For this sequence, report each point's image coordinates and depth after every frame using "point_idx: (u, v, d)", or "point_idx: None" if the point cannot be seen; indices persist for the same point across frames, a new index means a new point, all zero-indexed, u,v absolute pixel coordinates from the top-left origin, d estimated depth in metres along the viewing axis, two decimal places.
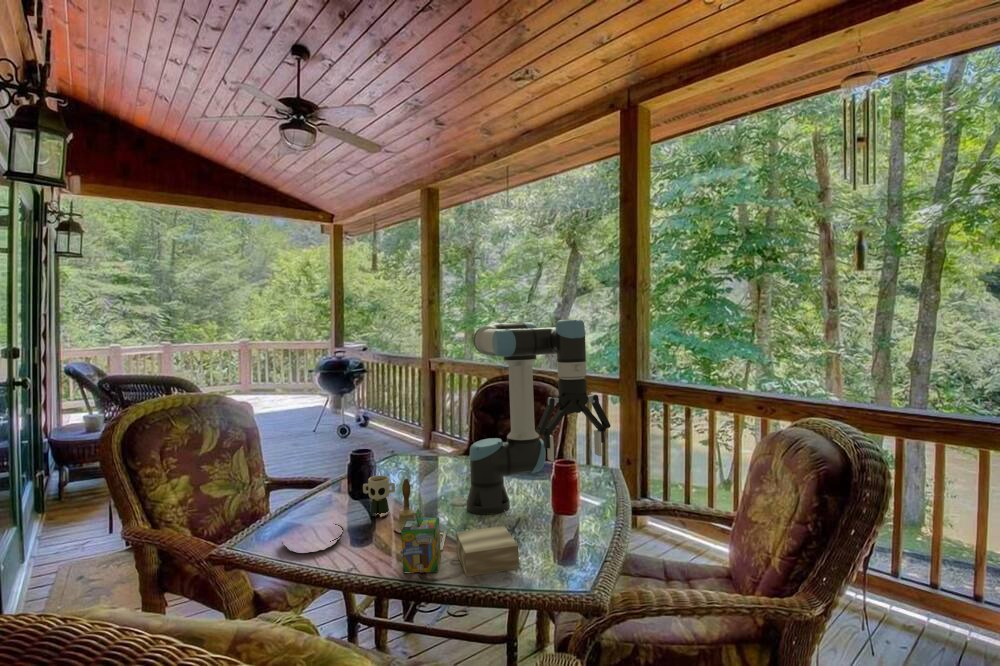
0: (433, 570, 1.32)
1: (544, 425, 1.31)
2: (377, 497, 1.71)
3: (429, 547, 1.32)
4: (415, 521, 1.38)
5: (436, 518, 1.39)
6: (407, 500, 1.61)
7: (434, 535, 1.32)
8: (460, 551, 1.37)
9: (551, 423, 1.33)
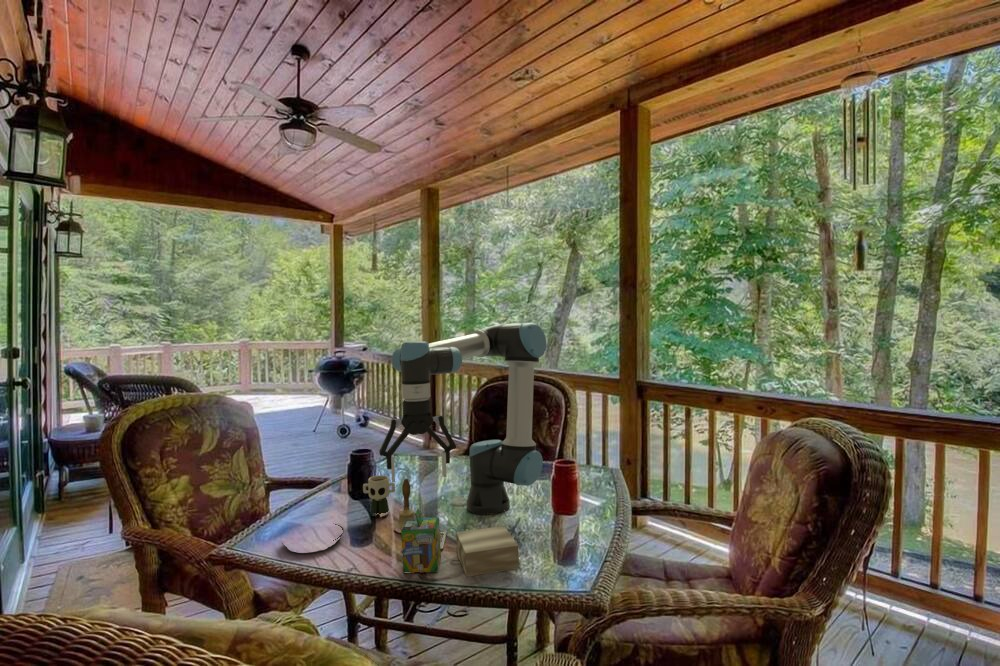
0: (433, 570, 1.32)
1: (385, 446, 1.33)
2: (377, 497, 1.71)
3: (429, 547, 1.32)
4: (415, 521, 1.38)
5: (436, 518, 1.39)
6: (407, 500, 1.61)
7: (434, 535, 1.32)
8: (460, 551, 1.37)
9: (393, 444, 1.34)
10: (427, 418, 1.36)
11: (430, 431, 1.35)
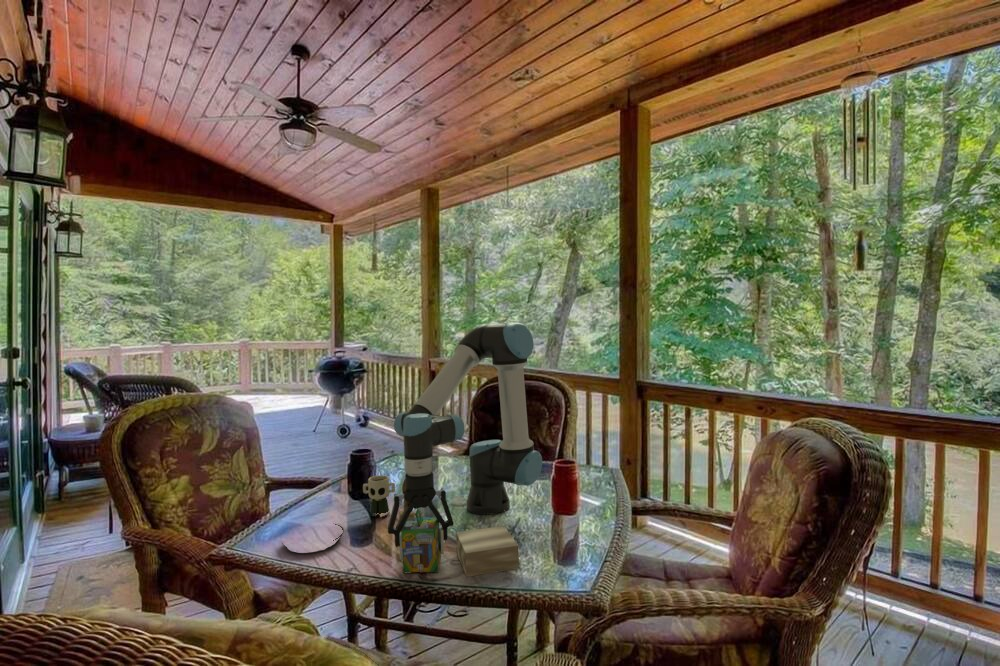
0: (433, 570, 1.32)
1: (392, 524, 1.33)
2: (377, 497, 1.71)
3: (429, 546, 1.32)
4: (415, 521, 1.38)
5: (436, 518, 1.39)
6: None
7: (434, 535, 1.32)
8: (460, 551, 1.37)
9: (400, 521, 1.35)
10: (430, 491, 1.36)
11: (431, 506, 1.35)
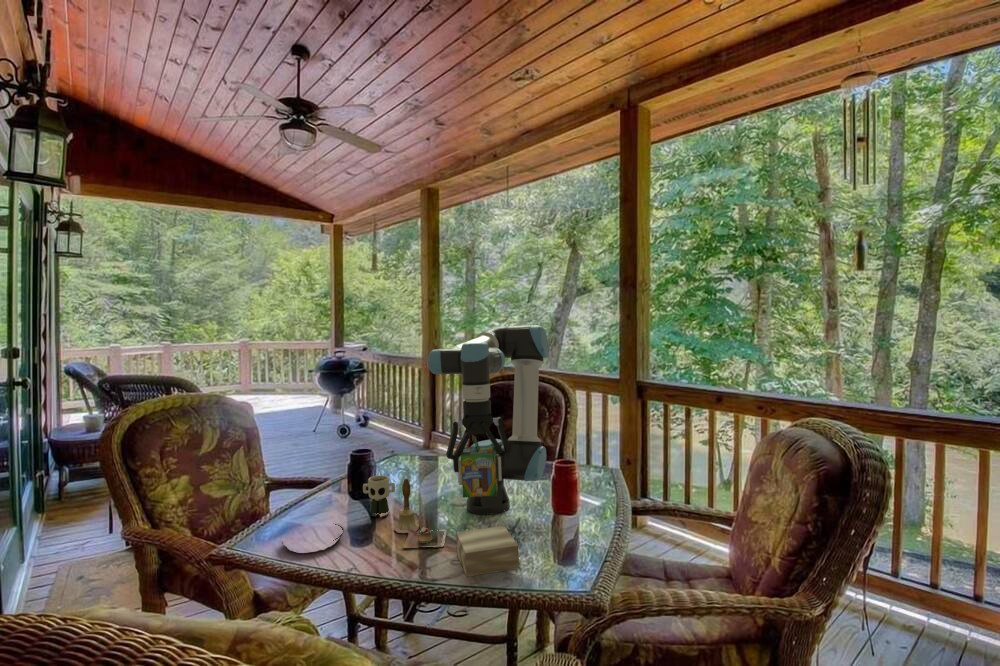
0: (492, 494, 1.33)
1: (451, 449, 1.35)
2: (377, 497, 1.71)
3: (489, 471, 1.33)
4: (472, 448, 1.39)
5: (493, 446, 1.41)
6: (407, 500, 1.61)
7: (493, 459, 1.33)
8: (460, 551, 1.37)
9: (458, 447, 1.36)
10: (488, 418, 1.37)
11: (489, 432, 1.37)
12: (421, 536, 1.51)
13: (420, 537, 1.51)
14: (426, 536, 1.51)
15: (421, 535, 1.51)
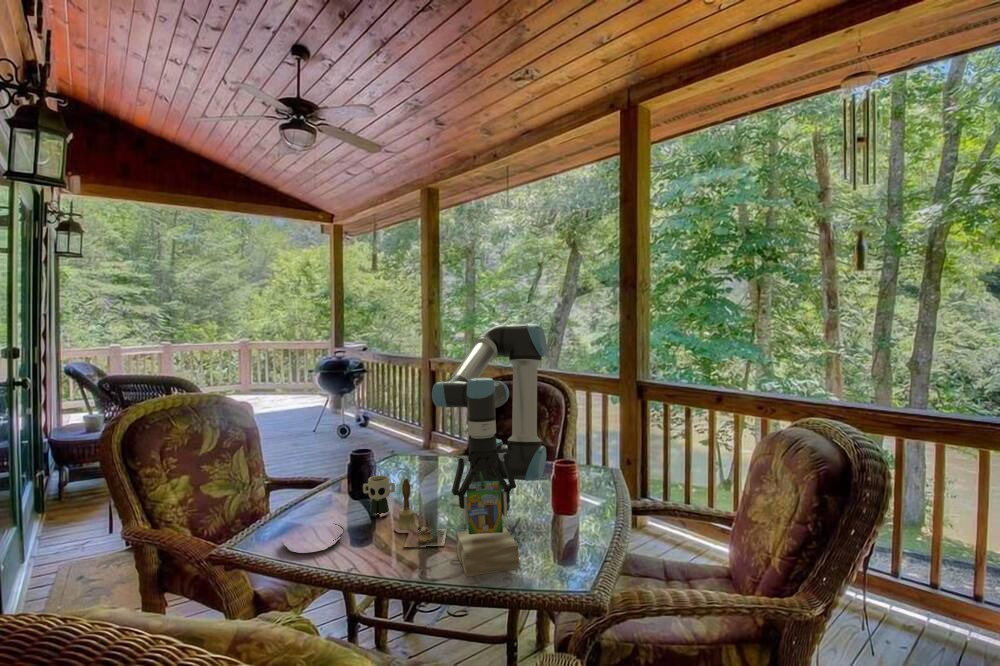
0: (498, 531, 1.33)
1: (457, 486, 1.35)
2: (377, 497, 1.71)
3: (495, 507, 1.33)
4: (478, 484, 1.39)
5: (498, 481, 1.41)
6: (407, 500, 1.61)
7: (499, 496, 1.33)
8: (460, 551, 1.37)
9: (464, 483, 1.36)
10: (493, 454, 1.37)
11: (495, 468, 1.37)
12: (421, 535, 1.52)
13: (420, 536, 1.52)
14: (426, 535, 1.52)
15: (421, 534, 1.52)
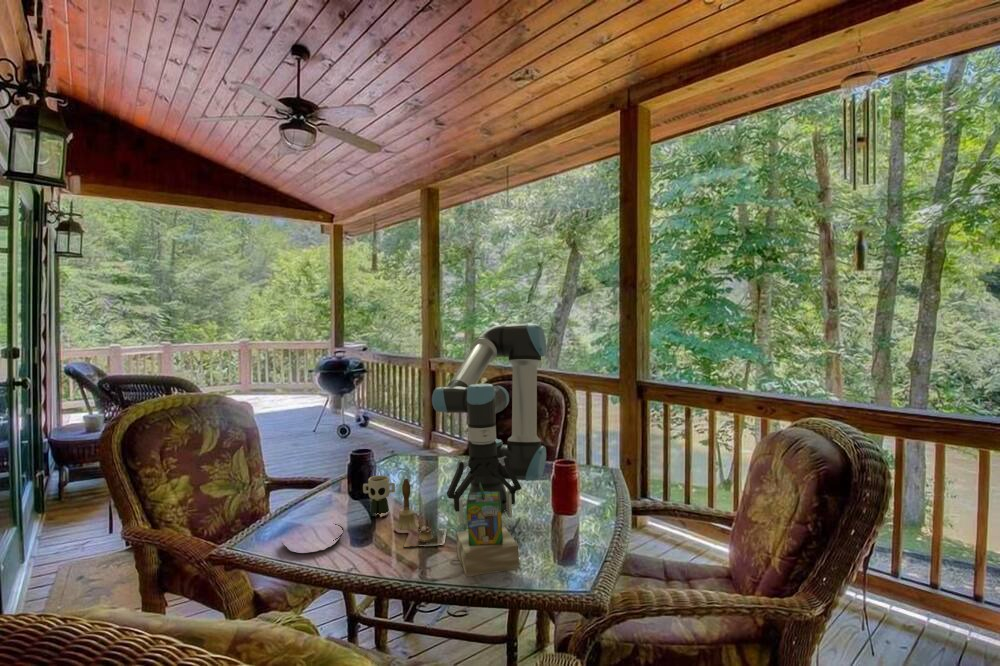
0: (499, 542, 1.33)
1: (453, 489, 1.34)
2: (377, 497, 1.71)
3: (495, 519, 1.33)
4: (477, 495, 1.39)
5: (497, 492, 1.41)
6: (407, 500, 1.61)
7: (499, 507, 1.34)
8: (460, 551, 1.37)
9: (461, 486, 1.36)
10: (493, 460, 1.37)
11: (496, 473, 1.37)
12: (421, 534, 1.52)
13: (421, 536, 1.52)
14: (426, 534, 1.52)
15: (421, 534, 1.52)
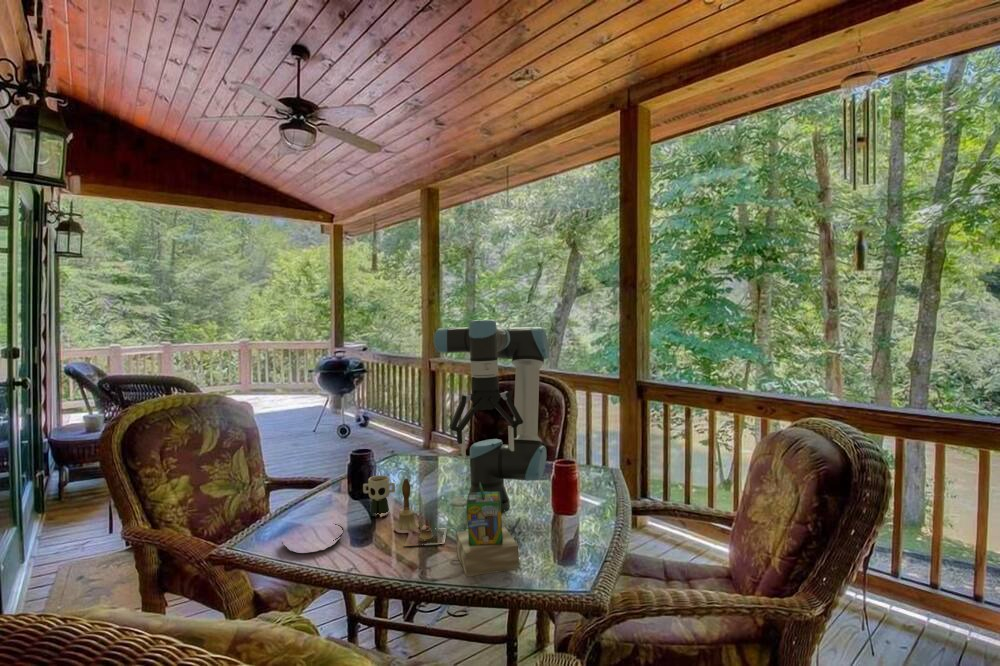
0: (499, 542, 1.33)
1: (456, 421, 1.36)
2: (377, 497, 1.71)
3: (495, 519, 1.33)
4: (477, 495, 1.39)
5: (497, 492, 1.41)
6: (407, 500, 1.61)
7: (499, 507, 1.34)
8: (460, 551, 1.37)
9: (463, 419, 1.38)
10: (495, 394, 1.39)
11: (498, 407, 1.39)
12: (422, 533, 1.53)
13: (421, 535, 1.53)
14: (427, 534, 1.53)
15: (422, 533, 1.53)
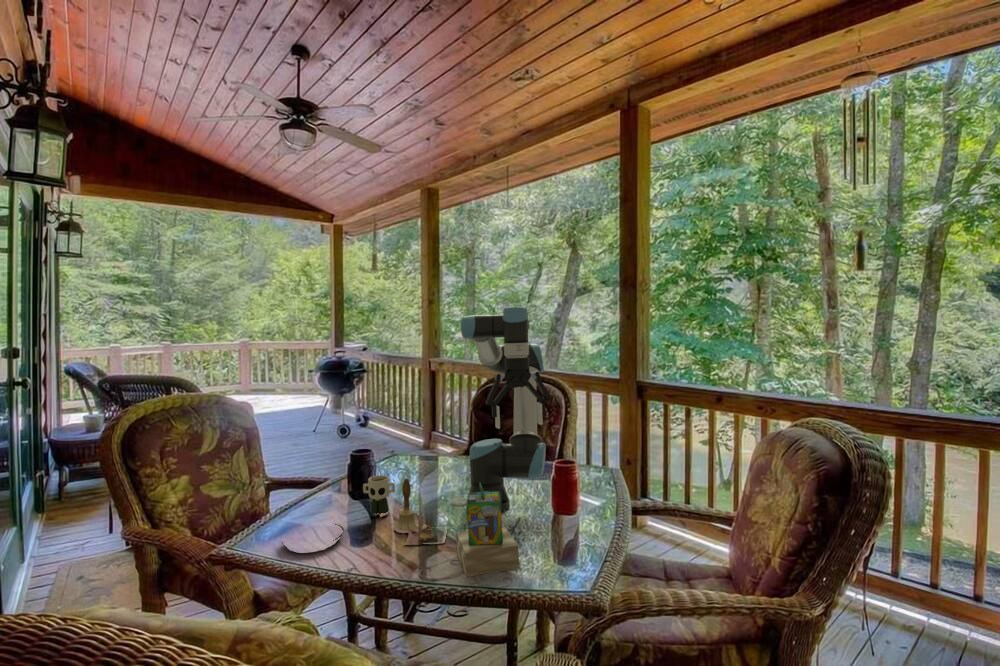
0: (499, 542, 1.33)
1: (491, 397, 1.52)
2: (377, 497, 1.71)
3: (495, 519, 1.33)
4: (477, 495, 1.39)
5: (497, 492, 1.41)
6: (407, 500, 1.61)
7: (499, 507, 1.34)
8: (460, 551, 1.37)
9: (498, 396, 1.54)
10: (526, 373, 1.55)
11: (529, 384, 1.55)
12: (422, 533, 1.54)
13: (421, 534, 1.54)
14: (427, 533, 1.53)
15: (422, 532, 1.54)
